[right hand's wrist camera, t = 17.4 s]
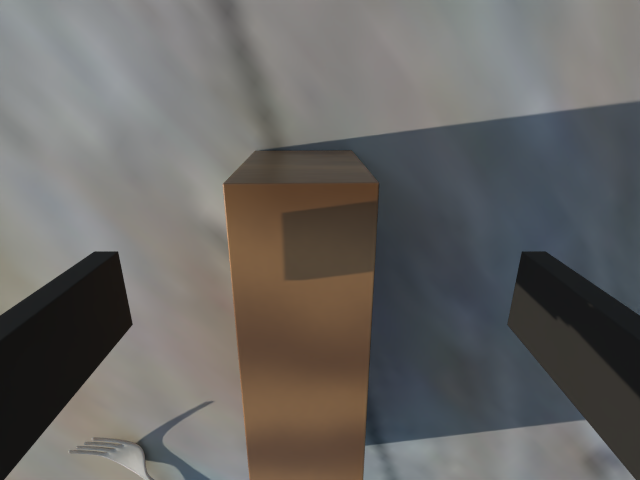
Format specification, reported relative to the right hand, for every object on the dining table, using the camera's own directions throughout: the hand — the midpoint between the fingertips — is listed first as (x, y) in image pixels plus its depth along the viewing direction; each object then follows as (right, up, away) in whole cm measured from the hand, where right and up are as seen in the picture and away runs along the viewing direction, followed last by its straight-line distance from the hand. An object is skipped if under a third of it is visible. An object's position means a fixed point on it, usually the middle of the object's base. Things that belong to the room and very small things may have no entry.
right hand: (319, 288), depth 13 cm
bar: (-1, -4, +13) cm, 13 cm away
